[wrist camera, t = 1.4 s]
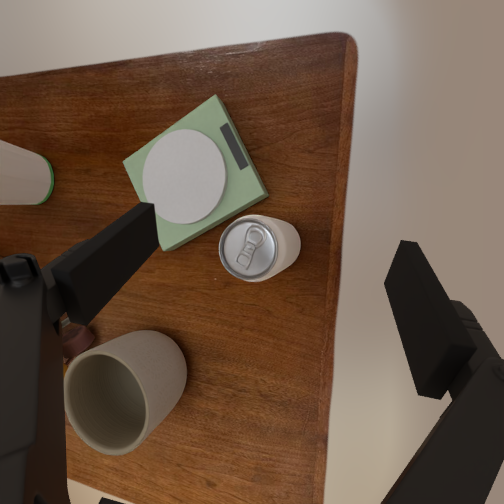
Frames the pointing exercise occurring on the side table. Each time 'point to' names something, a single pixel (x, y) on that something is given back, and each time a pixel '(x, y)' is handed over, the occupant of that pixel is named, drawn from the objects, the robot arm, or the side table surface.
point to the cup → (24, 176)
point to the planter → (124, 390)
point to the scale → (195, 175)
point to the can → (258, 247)
